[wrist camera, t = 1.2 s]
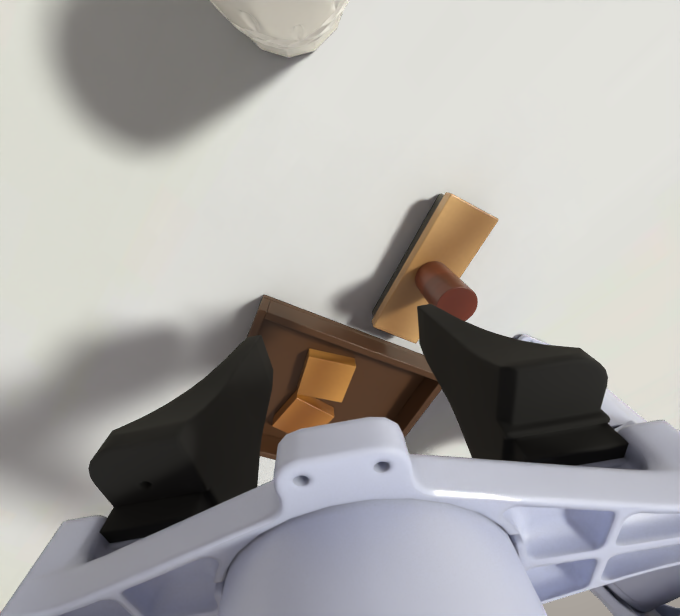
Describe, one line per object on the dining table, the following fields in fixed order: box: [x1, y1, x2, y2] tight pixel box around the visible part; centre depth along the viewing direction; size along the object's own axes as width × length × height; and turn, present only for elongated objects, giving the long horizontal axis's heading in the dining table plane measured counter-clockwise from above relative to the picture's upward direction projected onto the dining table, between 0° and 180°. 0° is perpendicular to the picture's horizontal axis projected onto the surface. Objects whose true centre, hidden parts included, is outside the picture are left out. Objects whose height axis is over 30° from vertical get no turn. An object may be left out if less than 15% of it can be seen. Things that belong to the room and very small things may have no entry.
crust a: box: [297, 348, 356, 402], centre depth 27 cm, size 4×4×1 cm
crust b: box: [272, 390, 334, 434], centre depth 29 cm, size 4×4×1 cm
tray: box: [246, 295, 442, 460], centre depth 28 cm, size 16×14×2 cm
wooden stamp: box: [372, 192, 498, 343], centre depth 21 cm, size 4×10×7 cm, turn 155°
